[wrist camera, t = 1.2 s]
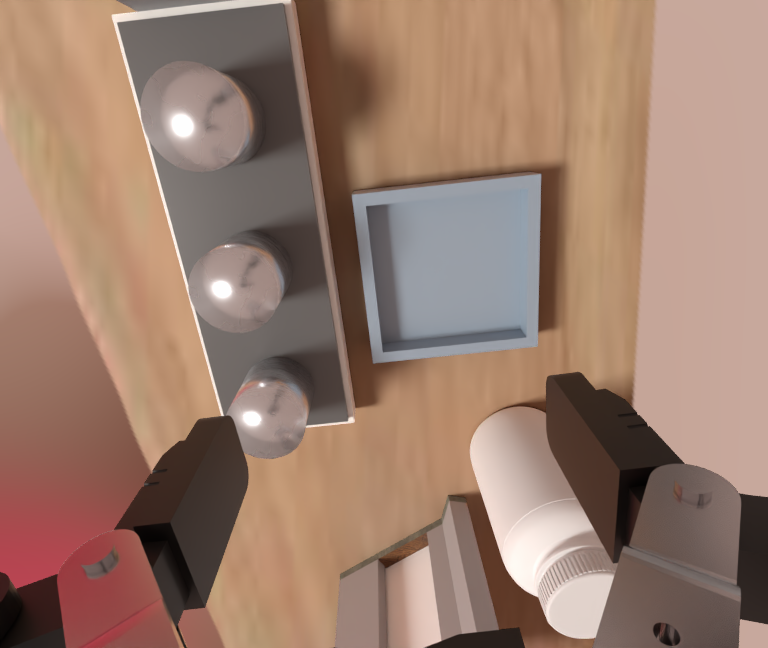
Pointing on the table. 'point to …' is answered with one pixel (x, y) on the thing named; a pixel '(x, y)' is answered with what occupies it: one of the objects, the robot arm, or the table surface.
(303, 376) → the cylinder
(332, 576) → the table surface
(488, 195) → the tray
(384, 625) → the cabinet
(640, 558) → the robot arm
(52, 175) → the table surface
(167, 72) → the cylinder
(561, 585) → the pill bottle
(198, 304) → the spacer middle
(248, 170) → the scale
